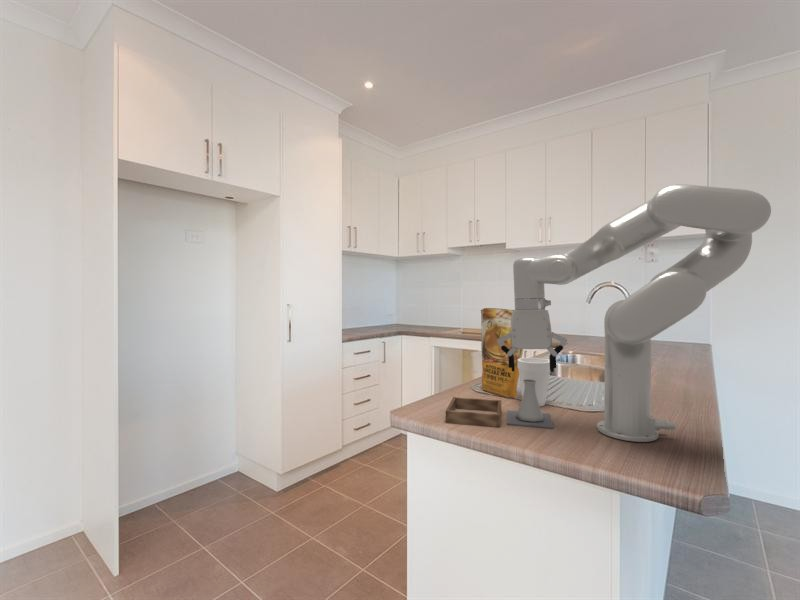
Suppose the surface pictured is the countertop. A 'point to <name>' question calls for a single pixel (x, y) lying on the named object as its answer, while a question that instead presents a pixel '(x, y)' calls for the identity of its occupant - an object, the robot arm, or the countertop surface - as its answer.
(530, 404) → the flask
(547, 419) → the charcoal mat
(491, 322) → the pancake mix bag
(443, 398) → the countertop surface
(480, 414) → the walnut frame
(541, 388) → the foam cup
